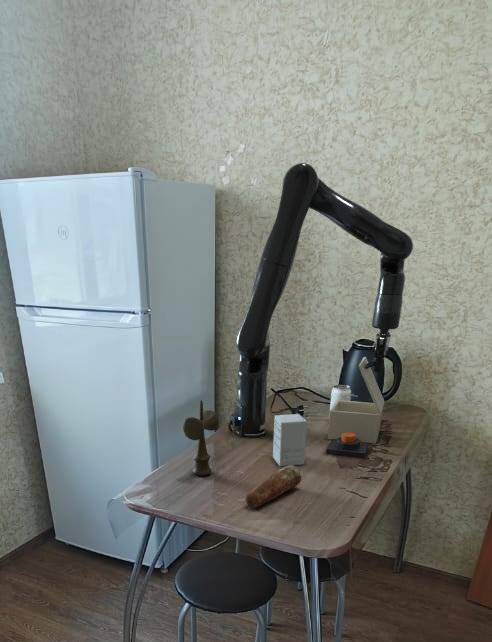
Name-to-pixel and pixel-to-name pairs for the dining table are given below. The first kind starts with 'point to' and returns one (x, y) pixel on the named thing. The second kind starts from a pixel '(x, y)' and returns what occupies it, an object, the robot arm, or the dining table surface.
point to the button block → (347, 448)
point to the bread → (274, 486)
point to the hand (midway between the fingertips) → (378, 369)
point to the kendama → (201, 437)
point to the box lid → (371, 383)
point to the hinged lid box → (354, 420)
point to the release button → (348, 437)
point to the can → (340, 394)
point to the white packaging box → (289, 439)
